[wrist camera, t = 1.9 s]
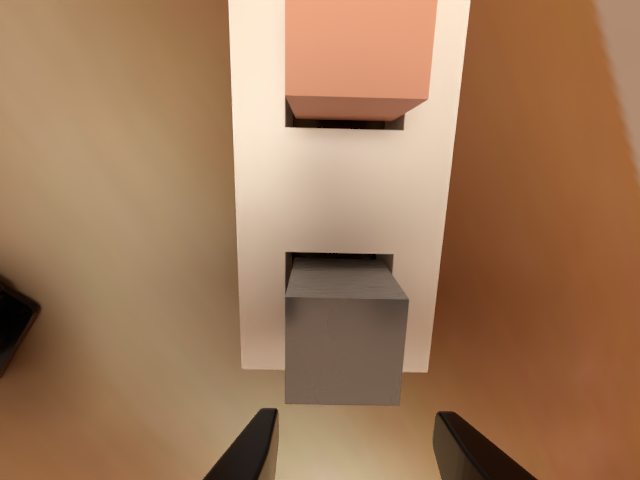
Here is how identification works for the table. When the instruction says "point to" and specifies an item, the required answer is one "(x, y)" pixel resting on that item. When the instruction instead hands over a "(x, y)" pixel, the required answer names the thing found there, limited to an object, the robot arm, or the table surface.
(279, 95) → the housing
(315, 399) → the grey cube
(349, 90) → the terracotta plunger
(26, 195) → the table surface
